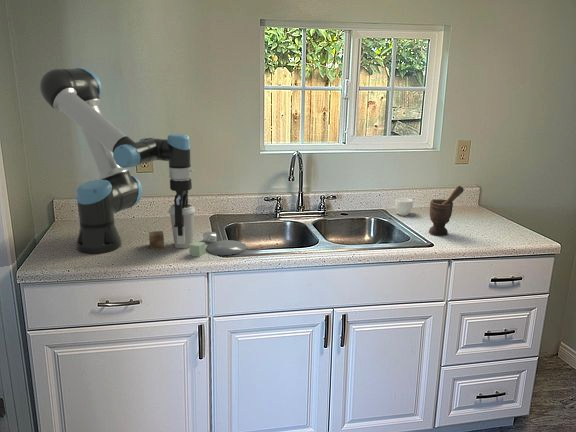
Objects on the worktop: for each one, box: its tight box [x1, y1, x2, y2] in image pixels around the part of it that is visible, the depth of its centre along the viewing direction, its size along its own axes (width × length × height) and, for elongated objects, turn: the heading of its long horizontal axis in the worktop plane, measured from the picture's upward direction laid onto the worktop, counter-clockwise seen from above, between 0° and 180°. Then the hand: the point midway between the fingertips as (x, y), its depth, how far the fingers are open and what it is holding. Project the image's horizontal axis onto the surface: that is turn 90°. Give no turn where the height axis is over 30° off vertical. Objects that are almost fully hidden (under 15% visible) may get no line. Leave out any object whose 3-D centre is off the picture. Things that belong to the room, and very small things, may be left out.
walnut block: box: [148, 230, 165, 250], centre depth 193 cm, size 5×5×5 cm
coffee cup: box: [168, 202, 197, 249], centre depth 192 cm, size 10×10×15 cm
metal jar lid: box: [202, 231, 218, 245], centre depth 199 cm, size 5×5×3 cm
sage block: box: [189, 240, 207, 258], centre depth 185 cm, size 4×4×4 cm
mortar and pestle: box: [428, 185, 465, 237], centre depth 209 cm, size 12×9×20 cm
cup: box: [394, 197, 414, 217], centre depth 237 cm, size 8×10×7 cm
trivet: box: [206, 239, 247, 256], centre depth 191 cm, size 14×14×1 cm
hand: (183, 239), depth 194 cm, fingers closed on coffee cup, 8 cm apart
